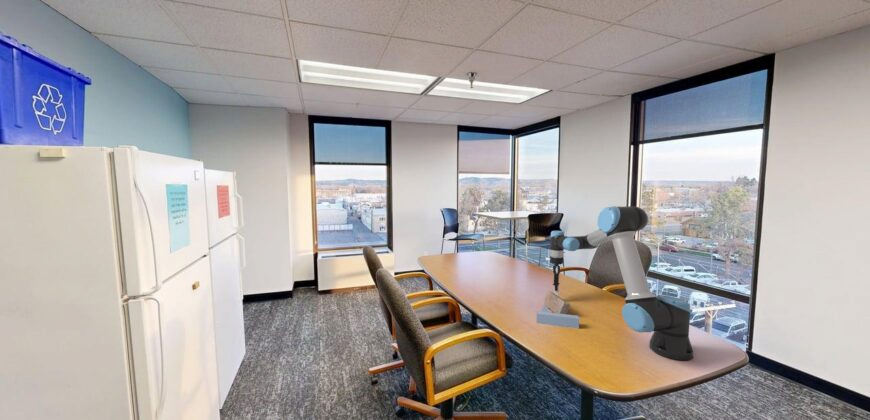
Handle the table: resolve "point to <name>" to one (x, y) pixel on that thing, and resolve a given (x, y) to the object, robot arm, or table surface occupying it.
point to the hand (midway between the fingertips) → (555, 295)
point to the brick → (556, 303)
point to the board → (557, 319)
